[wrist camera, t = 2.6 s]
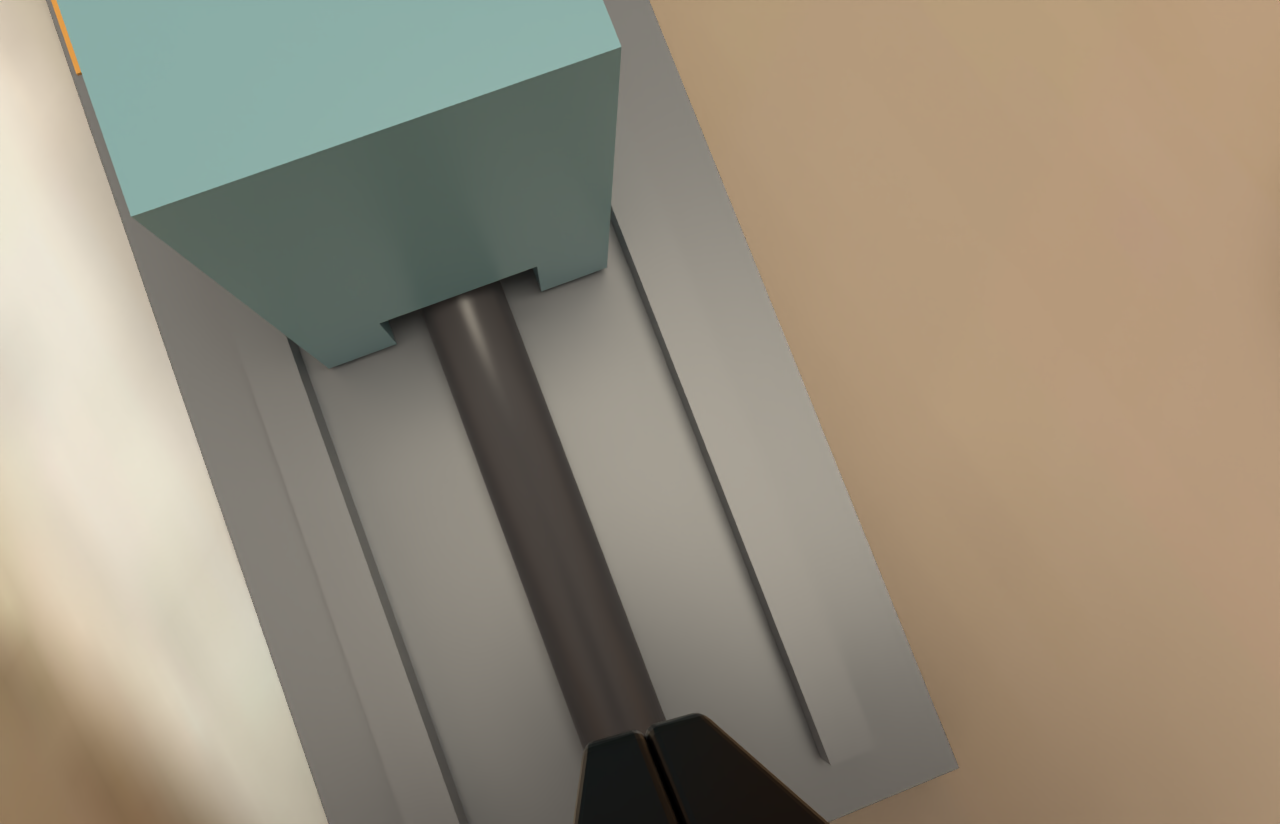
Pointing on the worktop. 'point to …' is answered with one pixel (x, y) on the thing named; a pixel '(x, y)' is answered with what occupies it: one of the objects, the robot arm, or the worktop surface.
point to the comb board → (552, 512)
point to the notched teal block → (359, 147)
